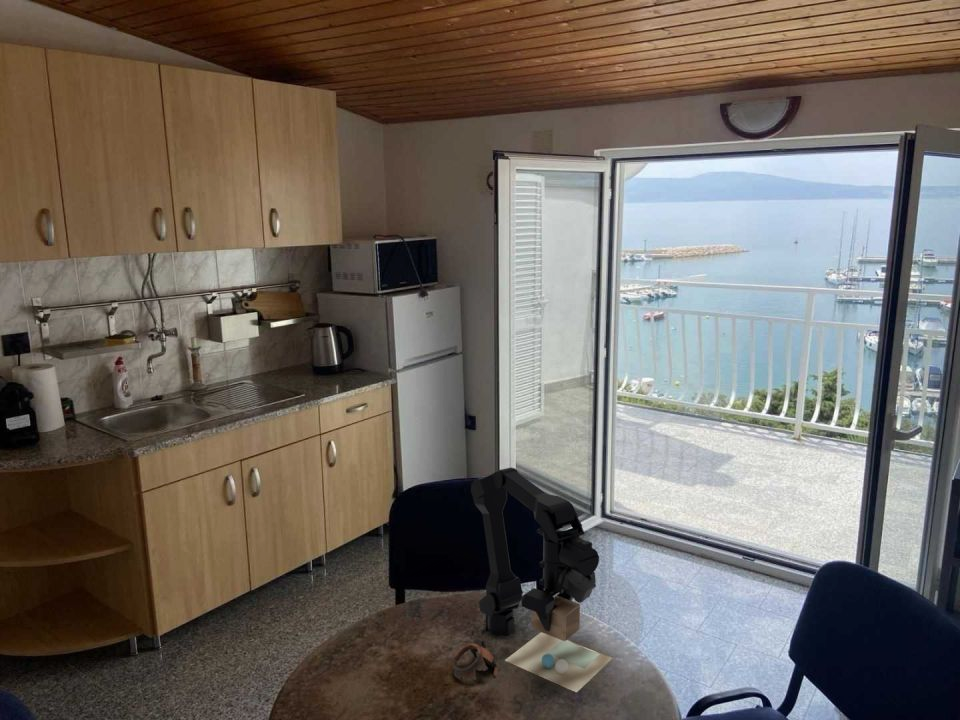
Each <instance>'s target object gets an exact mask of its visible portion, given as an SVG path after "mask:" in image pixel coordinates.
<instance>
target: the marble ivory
mask: <svg viewBox="0 0 960 720" xmlns="http://www.w3.org/2000/svg"><path fill="white" fill-rule="evenodd" d="M568 668H569V666H568V663H567V662H566V661H565V660H563V659H560V660H558V661H557V662H556V664H555V669H556V671H557V672H558V673H560V674H564V673H566V672H567V671H568Z"/></svg>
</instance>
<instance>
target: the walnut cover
mask: <svg viewBox="0 0 960 720" xmlns="http://www.w3.org/2000/svg"><path fill="white" fill-rule="evenodd" d="M554 605H556V606H558V607H557V608H556V609H554V610H553V611H552V620H551V627H550V631H546V630H545V629H544V627H543V625H542V623H541V621H540V619H539V617H538V615H537V613H536V612H535V611H532V610H531V629H532V630H535V631H538V632H539V633H541V632H542V633H545V634H547V635H550V636H552V637H555V638H557V639H560V640H562V641H566V640H569V638H571V637H572V636H573V635H574V634H576V633H577V632H578V631H579V630H580V629H581V627H580V625H581V624H580V623H581V620H580V619H581V603H579V602H577V601H573V600H572V601H571V600H568V599H565V598H562V597H559V596H555V597H554Z"/></svg>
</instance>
